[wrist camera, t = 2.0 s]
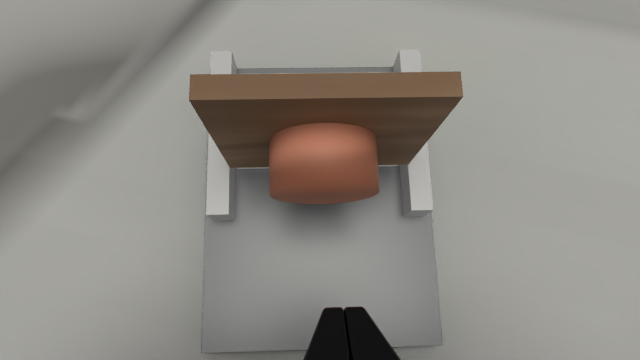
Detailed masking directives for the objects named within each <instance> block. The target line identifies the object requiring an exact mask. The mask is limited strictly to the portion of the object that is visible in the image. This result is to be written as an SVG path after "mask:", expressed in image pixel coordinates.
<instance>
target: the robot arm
mask: <svg viewBox="0 0 640 360" xmlns="http://www.w3.org/2000/svg"><path fill="white" fill-rule="evenodd" d="M303 360H400V358H399V357H398V355H397V354H396V352H395V351H394V349H393V348H392V347H391V345H390V344H389V342H388V341H387V339H386V338H385V337H384V335H383V334H382V332H381V331H380V329H379V328H378V327H377V325H376V324H375V322H374V321H373V319H372V318H371V316H370V315H369V314H368V312H367V311H366V309H365V308H363V307H361V306H359V307H346V308H344V310H343V308H341V307H326V308H324V309H323V311H322V313H321V316H320V318H319V321H318V323H317V326H316V328H315V331H314V334H313V336H312V339H311V341H310V344H309V346H308V349H307V351H306V354H305V357H304V359H303Z"/></svg>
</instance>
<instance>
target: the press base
mask: <svg viewBox="0 0 640 360" xmlns="http://www.w3.org/2000/svg"><path fill="white" fill-rule="evenodd" d="M382 72H422V71H421V59H420V50H399V52H398V55H397V58H396V60H395V63H394V65H393V67H349V68H253V69H237V67H236V64H235V60H234V57H233V54H232V51H211V67H210V74H290V73H382ZM378 176H379V193H378V194H377V195H375V196H373V197H370V198H367V199H363V200H359V201H353V202H345V203H334V204H300V203H290V202H284V201H280V200H276V199H274V198H272V197H270V195H269V167H255V168H230V167H229V166H228V164H227V162H226V161H225V159H224V157H223V156H222V154H221V152H220V151H219V149H218V147H217V146H216V144H215V142H214V141H213V139H212V137H211V136H210V134H209V132H208V150H207V183H206V215H205V247H204V280H203V312H202V344H201V353H221V352H252V351H283V350H307V349H308V346H309V344H310V341H311V339H312V336H313V334H314V331H315V328H316V326H317V323H318V321H319V318H320V316H321V313H322V311H323V309H324V308H326V307H341V308H343V310H344V308H346V307H359V306H361V307H363V308H365V309H366V311H367V312H368V314H369V315H370V316H371V318H372V319H373V321H374V322H375V324H376V325H377V327H378V328H379V329H380V331H381V332H382V334H383V335H384V337H385V338H386V339H387V341H388V342H389V344H390V345H391V347H407V346H438V345H443V344H442V332H441V321H440V309H439V297H438V285H437V273H436V261H435V249H434V237H433V226H432V214H431V211H432V210H433V199H432V188H431V176H430V164H429V152H428V141H427V142H426V143H425V145H424V146H423V147H422V148H421V150H420V151H419V152H418V153H417V155H416V156H415V157H414V158H413V160H412V161H411V162H410V163H409V165H378Z"/></svg>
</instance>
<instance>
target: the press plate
mask: <svg viewBox="0 0 640 360" xmlns="http://www.w3.org/2000/svg"><path fill="white" fill-rule="evenodd" d="M462 97H463V91H462V81H461V72H382V73H290V74H198V75H190V92H189V101H190V102H191V104H192V106H193V107H194V109H195V111H196V112H197V114H198V116H199V117H200V119H201V121H202V122H203V124H204V126H205V127H206V129H207V131H208V132H209V134H210V136H211V137H212V139H213V141H214V142H215V144H216V146H217V147H218V149H219V151H220V152H221V154H222V156H223V157H224V159H225V161H226V162H227V164H228V166H229V167H230V168H255V167H269V195H270V197H272V198H274V199H276V200H280V201H284V202H290V203H300V204H334V203H345V202H353V201H359V200H363V199H367V198H370V197H373V196H375V195H377V194H378V193H379V176H378V165H409V163H410V162H411V161H412V160H413V158H414V157H415V156H416V155H417V153H418V152H419V151H420V150H421V148H422V147H423V146H424V145H425V143H426V142H427V141H428V140H429V138H430V137H431V136H432V135H433V133H434V132H435V131H436V130H437V129H438V127H439V126H440V125H441V124H442V122H443V121H444V120H445V119H446V117H447V116H448V115H449V114H450V112H451V111H452V110H453V109H454V107H455V106H456V105H457V104H458V102H459V101H460V100H461V99H462Z"/></svg>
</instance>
